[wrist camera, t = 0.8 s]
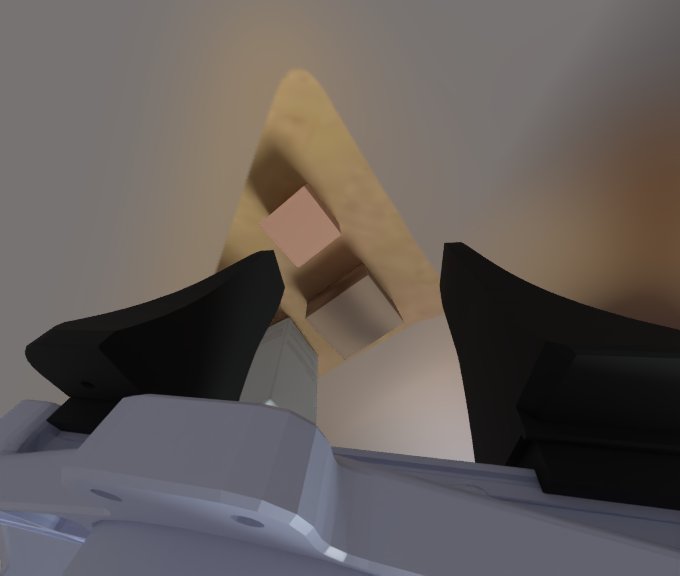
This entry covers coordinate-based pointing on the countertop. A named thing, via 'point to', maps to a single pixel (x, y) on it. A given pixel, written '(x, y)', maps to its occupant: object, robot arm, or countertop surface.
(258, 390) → the supplement box
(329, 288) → the walnut slab
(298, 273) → the countertop surface
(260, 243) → the countertop surface
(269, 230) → the terracotta cube
